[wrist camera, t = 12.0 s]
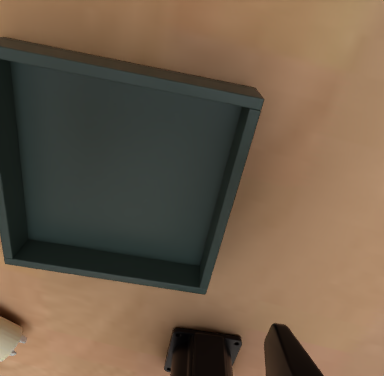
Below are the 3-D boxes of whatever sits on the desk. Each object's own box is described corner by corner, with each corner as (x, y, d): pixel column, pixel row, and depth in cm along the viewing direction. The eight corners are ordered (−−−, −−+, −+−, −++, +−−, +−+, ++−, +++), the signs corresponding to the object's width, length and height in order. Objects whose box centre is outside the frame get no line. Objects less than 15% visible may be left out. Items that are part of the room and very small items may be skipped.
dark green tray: (205, 267, 24) (205, 295, 22) (25, 238, 23) (4, 264, 21) (255, 87, 17) (264, 99, 15) (2, 36, 16) (-32, 39, 14)
